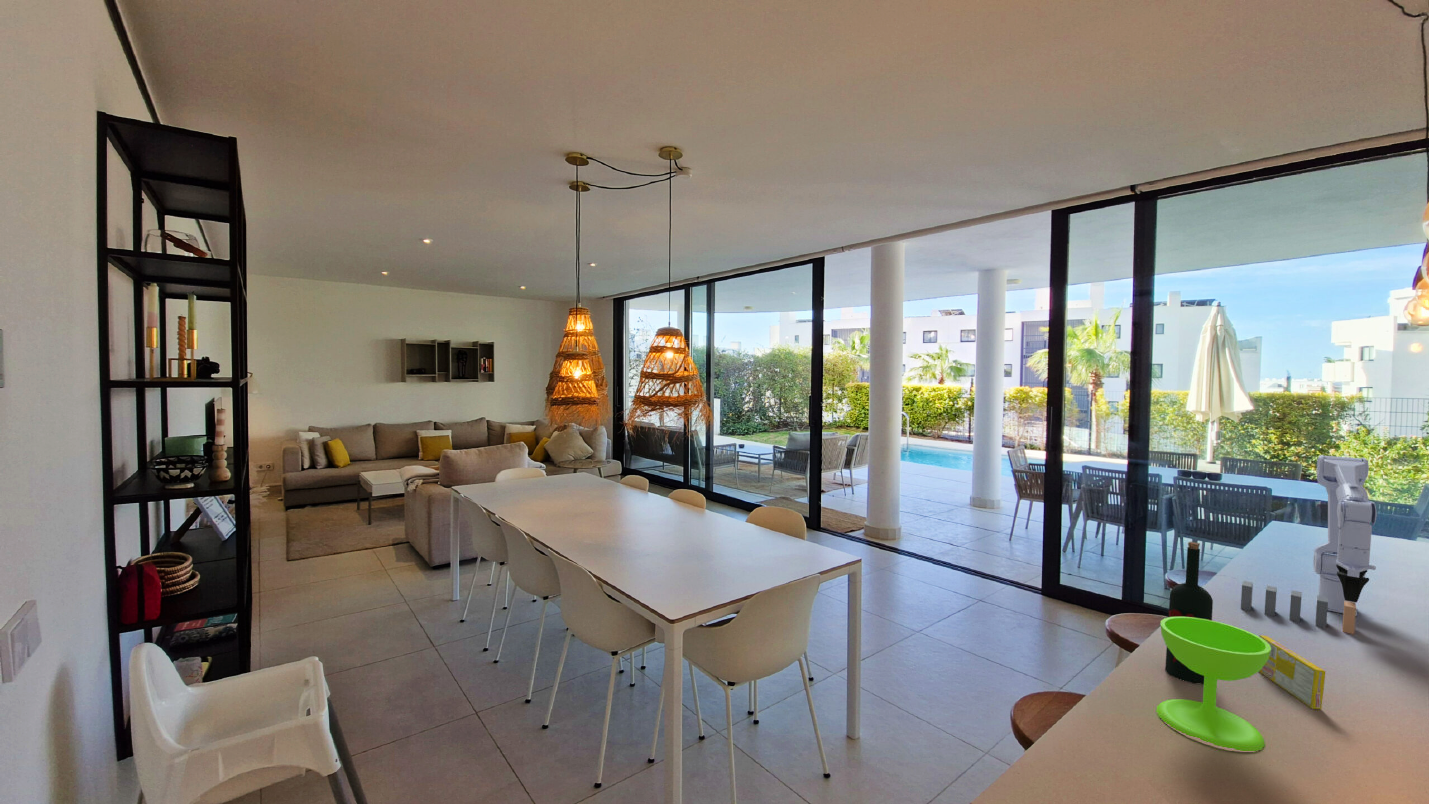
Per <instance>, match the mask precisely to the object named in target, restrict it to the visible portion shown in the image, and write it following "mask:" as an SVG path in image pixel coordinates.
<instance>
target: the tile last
mask: <svg viewBox="0 0 1429 804" xmlns="http://www.w3.org/2000/svg"><path fill="white" fill-rule="evenodd" d="M1253 585H1254V582H1252V581H1247V580H1243V582H1242V584H1241V595H1240V596H1241V597H1240V609H1241V610H1245V611H1248V612H1249V611H1251V609H1252V604H1253V603H1252V602H1253V587H1254V586H1253Z"/></svg>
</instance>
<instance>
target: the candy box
mask: <svg viewBox="0 0 1429 804" xmlns="http://www.w3.org/2000/svg"><path fill="white" fill-rule="evenodd" d="M1258 636H1259V637H1260V638H1262V639H1264V640H1265V641H1266V642H1267V643H1268V644H1269V645H1270V647H1271V652H1270V655H1269V659H1268V661H1267V662H1266V664H1265V665H1264V666H1263V667H1262V669H1261V670H1260V671H1259V672H1258V673H1260V674H1262V675H1264V676H1265V677H1266V678H1268V679H1269V680H1271V682H1273V683H1275V684H1276V685H1278V686H1279V687H1280V688H1282V689H1283V690H1284V691H1286V692H1288V693H1289V694H1291V696H1293V697H1295V699H1297V700H1299V701H1301V703H1303V704H1305V705H1306V706H1307V707H1309V708H1310V709H1311V708H1312V710H1319V709H1320V710H1322V705H1323V700H1324V699H1323V697H1324V690H1325V682H1326V681H1325V680H1326V670H1324V669H1322V668H1321V667H1319V666H1317V665H1316V664H1314V663H1313V662H1311V661H1310V660H1308V659H1306V658H1304V657H1303V656H1301V655H1299V654H1298V653H1296V652H1294V651H1293V650H1291V649H1290V648H1287V647H1286V646H1284V645H1283V644H1281V643H1279V642H1278V641H1276V640H1274V639H1272V637H1269V636H1268V635H1261V634H1259V635H1258Z"/></svg>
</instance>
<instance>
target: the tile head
mask: <svg viewBox="0 0 1429 804" xmlns="http://www.w3.org/2000/svg"><path fill="white" fill-rule="evenodd" d="M1356 611H1357V605H1356V602H1355V603H1354V602H1349V601H1344V613H1342V614H1343V615H1342V616H1343V617H1342V633H1346V632H1347V633H1348V634H1351V635H1355V627H1356V626H1355V625H1356V616H1355V615H1356Z"/></svg>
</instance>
